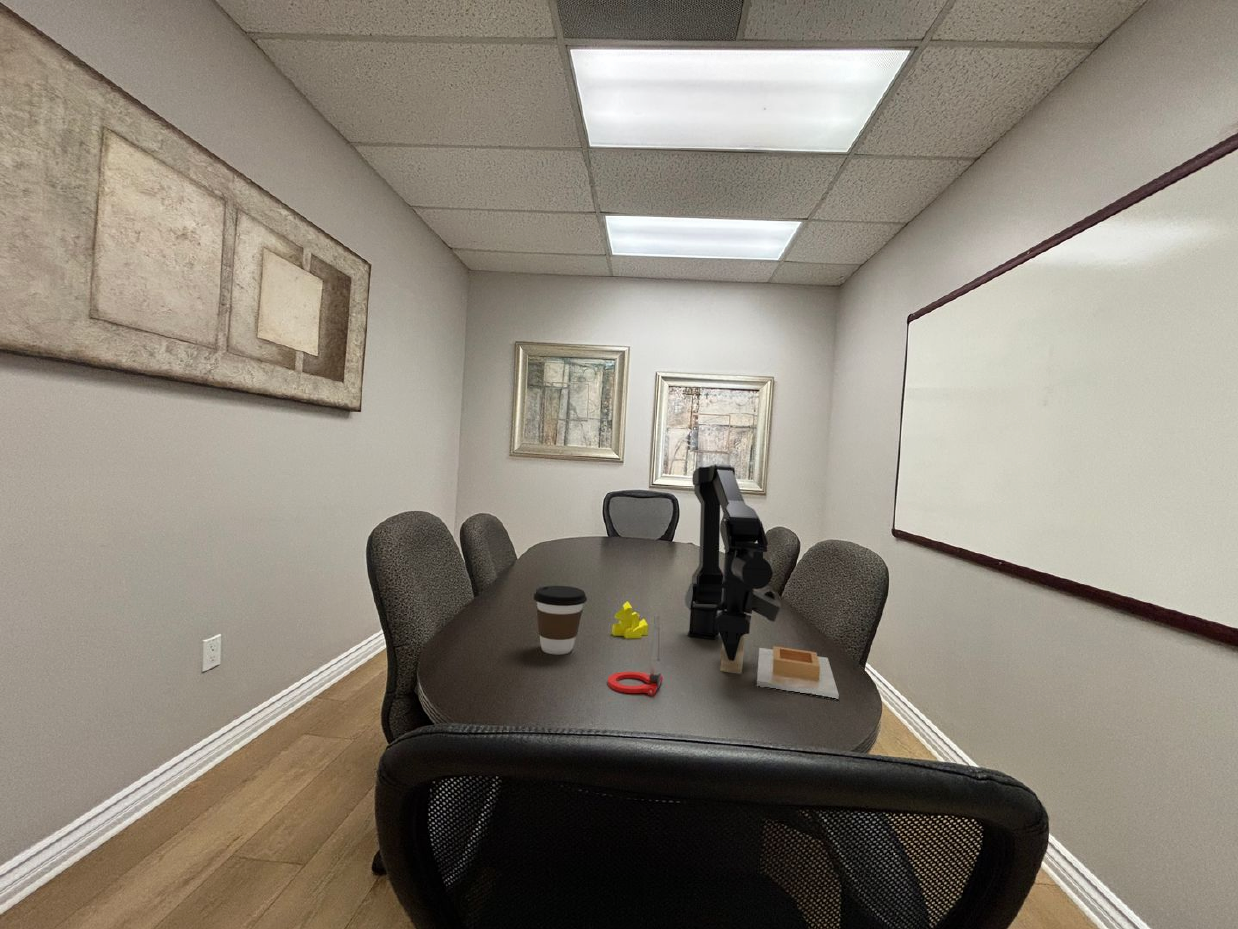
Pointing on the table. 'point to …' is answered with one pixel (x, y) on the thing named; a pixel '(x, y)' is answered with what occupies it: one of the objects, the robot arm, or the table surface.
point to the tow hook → (651, 679)
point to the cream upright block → (737, 663)
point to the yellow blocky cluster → (629, 623)
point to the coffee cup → (558, 617)
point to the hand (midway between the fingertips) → (732, 656)
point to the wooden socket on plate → (795, 671)
